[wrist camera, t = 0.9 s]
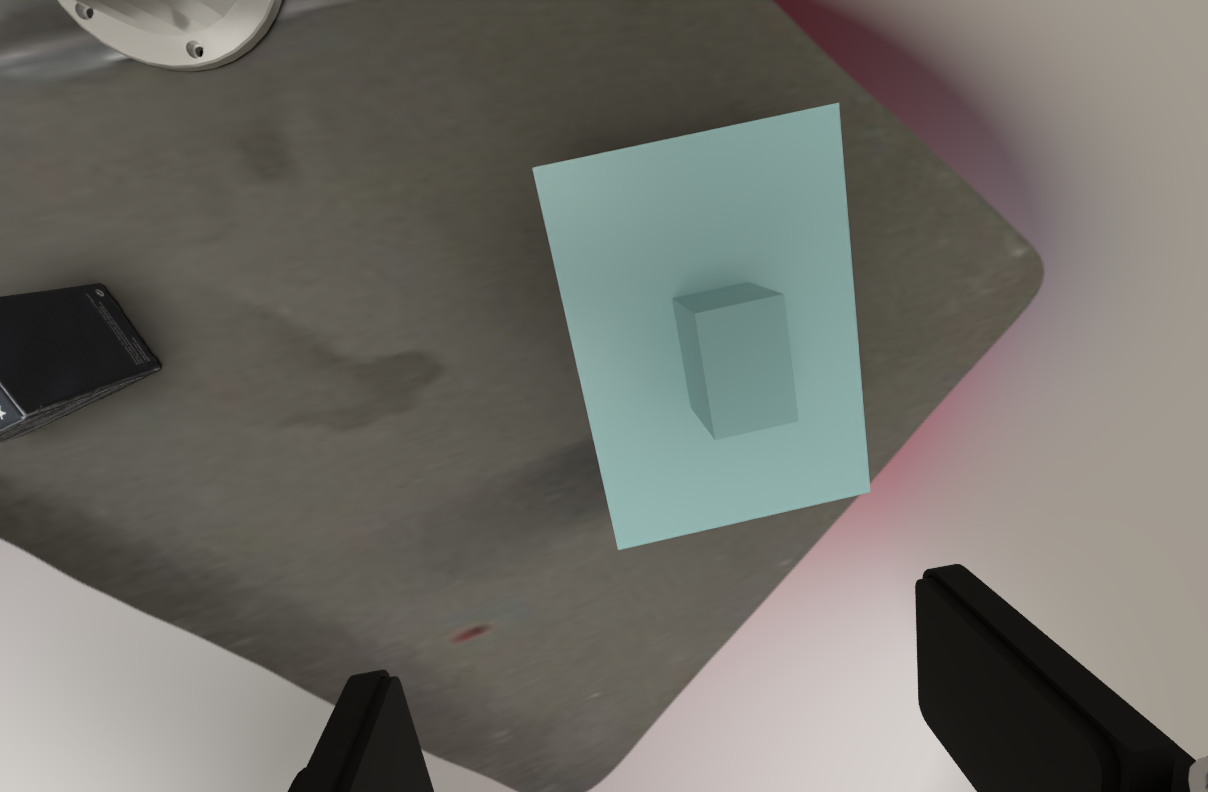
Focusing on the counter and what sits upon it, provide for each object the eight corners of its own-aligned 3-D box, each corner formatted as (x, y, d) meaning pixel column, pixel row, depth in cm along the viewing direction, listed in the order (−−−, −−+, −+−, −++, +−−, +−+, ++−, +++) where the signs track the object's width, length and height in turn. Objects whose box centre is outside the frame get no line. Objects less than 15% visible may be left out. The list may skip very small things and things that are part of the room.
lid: (532, 169, 30) (529, 158, 24) (827, 107, 30) (895, 80, 24) (615, 539, 36) (629, 602, 30) (860, 483, 37) (920, 535, 31)
